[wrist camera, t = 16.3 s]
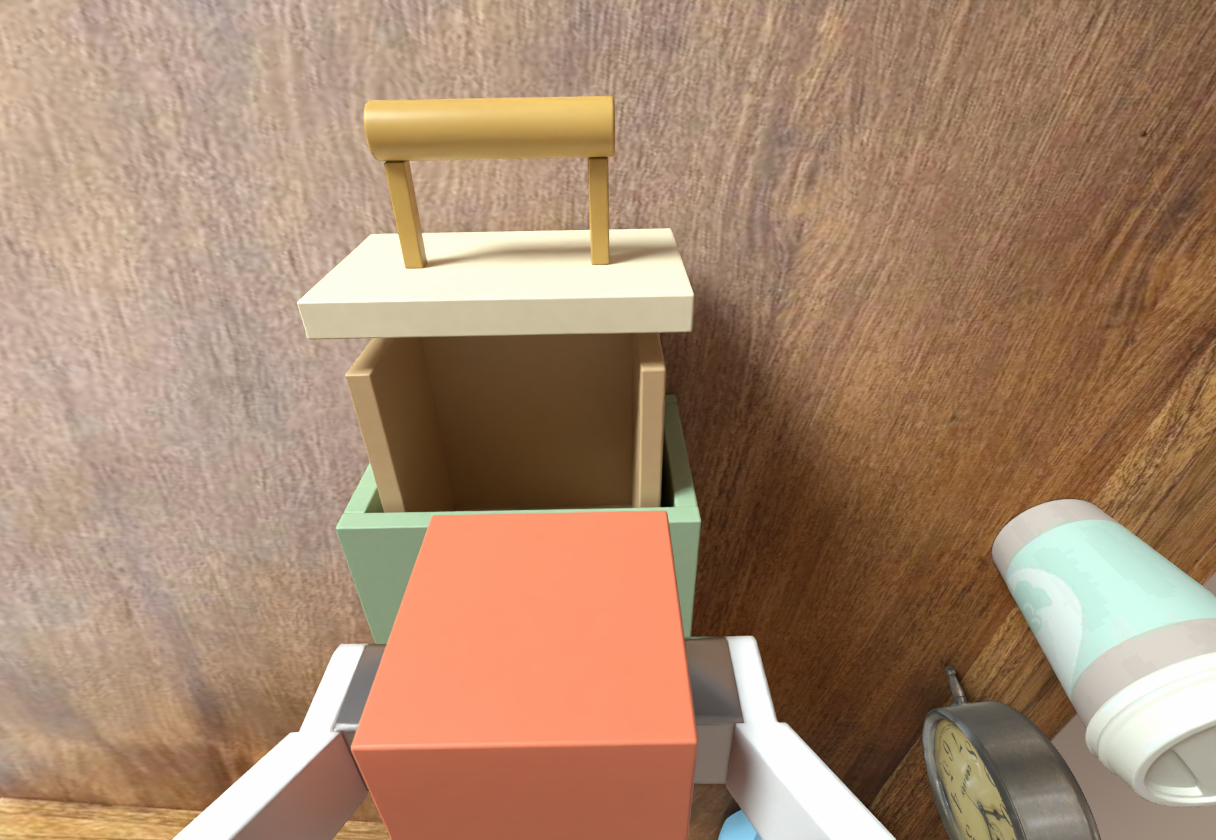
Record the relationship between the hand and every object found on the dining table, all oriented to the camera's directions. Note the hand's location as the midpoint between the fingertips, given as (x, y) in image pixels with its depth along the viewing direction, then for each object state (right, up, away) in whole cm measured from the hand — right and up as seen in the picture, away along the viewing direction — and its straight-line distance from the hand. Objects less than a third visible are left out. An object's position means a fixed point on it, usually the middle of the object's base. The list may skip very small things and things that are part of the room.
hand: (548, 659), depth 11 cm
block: (0, +1, +1) cm, 2 cm away
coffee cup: (+25, -2, +22) cm, 34 cm away
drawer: (-2, +8, +14) cm, 17 cm away
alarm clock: (+25, -15, +31) cm, 42 cm away
